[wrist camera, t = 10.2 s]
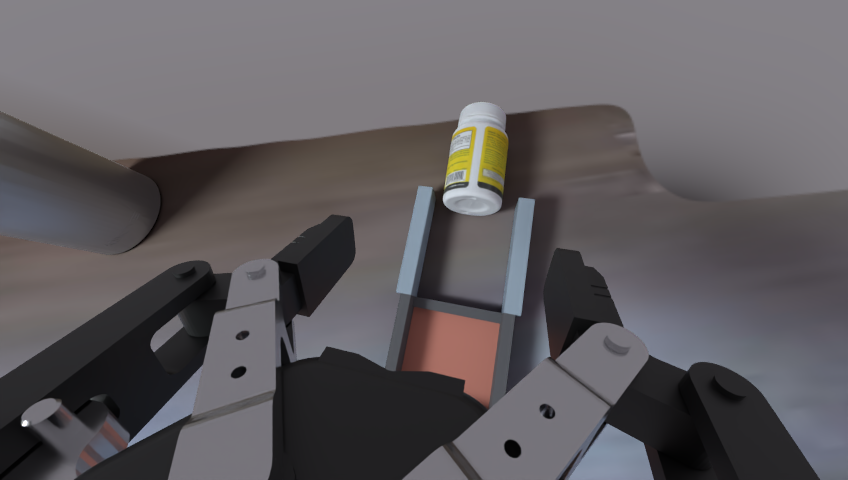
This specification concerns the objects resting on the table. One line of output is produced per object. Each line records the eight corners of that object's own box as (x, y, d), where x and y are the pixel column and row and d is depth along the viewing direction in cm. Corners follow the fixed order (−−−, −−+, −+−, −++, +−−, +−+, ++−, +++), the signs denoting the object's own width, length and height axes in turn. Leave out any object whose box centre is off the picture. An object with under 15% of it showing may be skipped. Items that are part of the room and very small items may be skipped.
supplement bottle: (499, 219, 26) (509, 133, 28) (503, 198, 22) (515, 98, 24) (444, 213, 27) (457, 131, 29) (438, 192, 23) (454, 96, 25)
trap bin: (496, 434, 22) (498, 447, 20) (385, 404, 24) (375, 413, 22) (511, 315, 24) (515, 314, 22) (407, 295, 26) (400, 292, 24)
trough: (516, 316, 24) (521, 315, 22) (403, 294, 26) (396, 292, 24) (529, 210, 26) (535, 199, 24) (423, 197, 28) (418, 185, 26)
